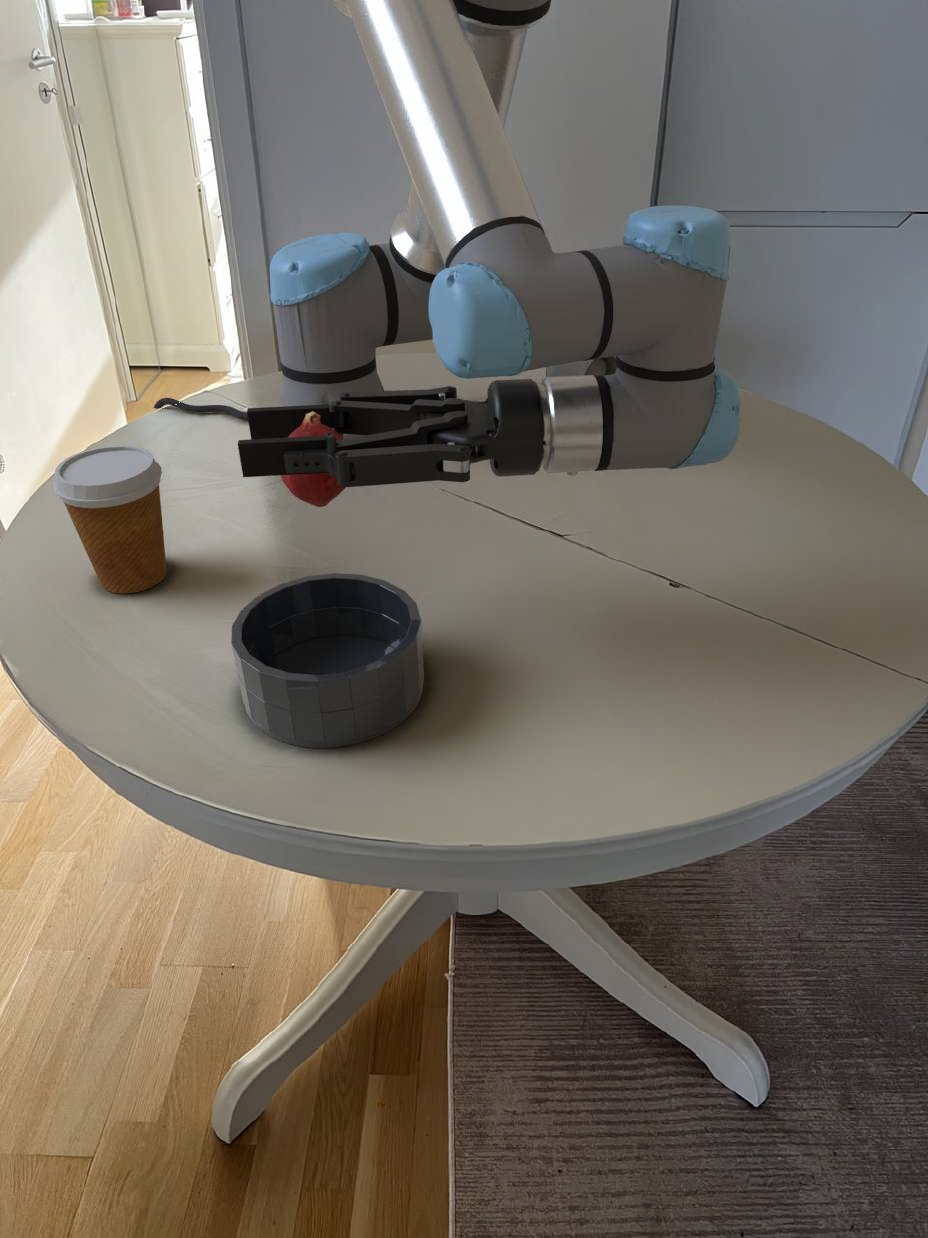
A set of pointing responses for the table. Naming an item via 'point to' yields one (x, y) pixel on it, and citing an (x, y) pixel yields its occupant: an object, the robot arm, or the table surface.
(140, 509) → the disposable coffee cup
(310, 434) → the onion
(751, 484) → the table surface
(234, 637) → the pot
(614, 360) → the ceramic mug
